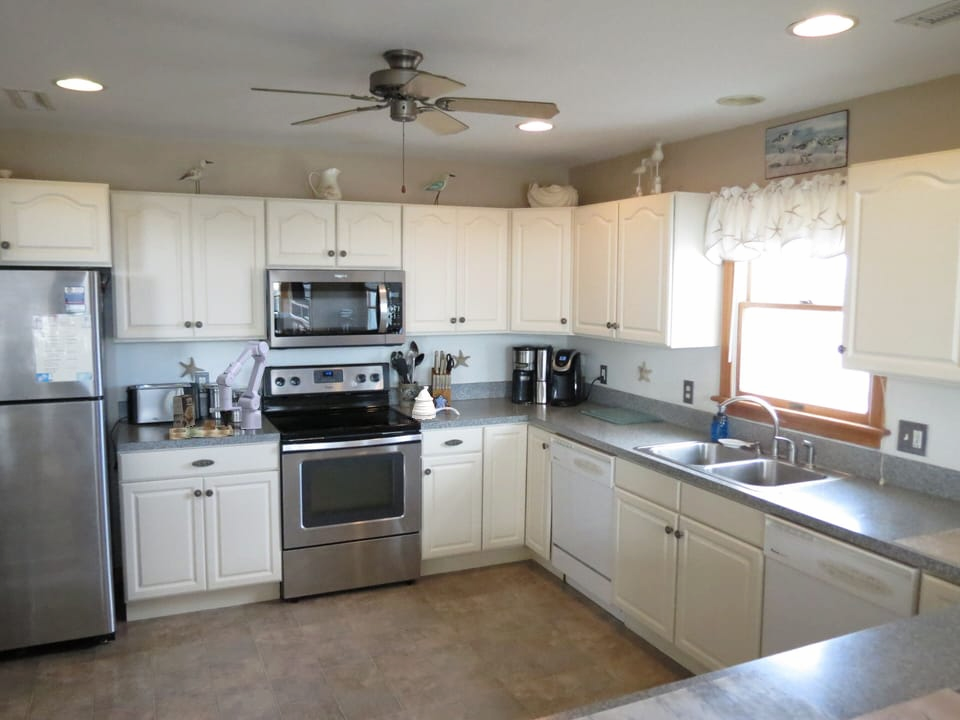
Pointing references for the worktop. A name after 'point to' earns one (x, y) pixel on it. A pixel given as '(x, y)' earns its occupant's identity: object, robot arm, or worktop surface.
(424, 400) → the honey pot
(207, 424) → the walnut block
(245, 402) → the robot arm
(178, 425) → the coffee box
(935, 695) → the worktop surface
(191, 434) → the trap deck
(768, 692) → the worktop surface
